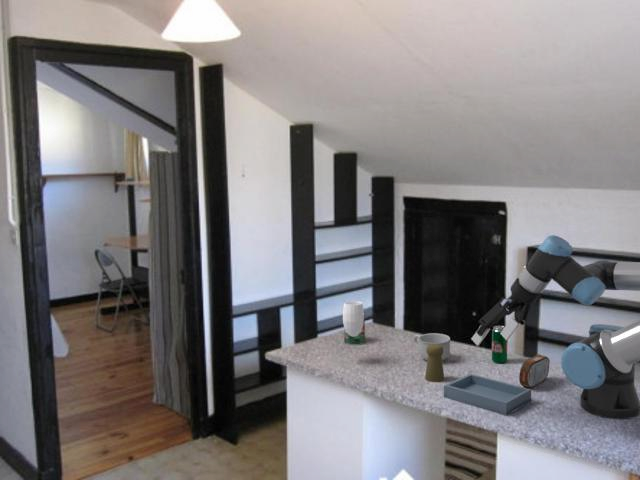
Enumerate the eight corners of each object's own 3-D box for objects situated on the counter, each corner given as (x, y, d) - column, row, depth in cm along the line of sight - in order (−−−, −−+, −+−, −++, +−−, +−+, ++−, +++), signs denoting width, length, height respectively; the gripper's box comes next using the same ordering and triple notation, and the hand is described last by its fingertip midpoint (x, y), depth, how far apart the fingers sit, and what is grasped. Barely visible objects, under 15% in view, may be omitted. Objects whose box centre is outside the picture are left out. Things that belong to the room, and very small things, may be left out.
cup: (361, 366, 217) (360, 306, 214) (340, 364, 219) (339, 304, 216) (366, 359, 223) (366, 301, 221) (346, 358, 226) (345, 300, 223)
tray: (531, 401, 184) (531, 389, 183) (505, 415, 174) (506, 403, 173) (470, 384, 198) (470, 373, 197) (443, 396, 188) (443, 385, 188)
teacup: (456, 360, 221) (456, 338, 220) (433, 366, 215) (433, 343, 214) (428, 351, 232) (428, 329, 231) (405, 356, 226) (405, 334, 225)
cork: (444, 382, 200) (444, 348, 198) (424, 381, 201) (424, 347, 200) (444, 376, 206) (444, 342, 204) (425, 375, 207) (425, 341, 206)
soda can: (488, 361, 220) (489, 327, 218) (498, 358, 223) (498, 324, 221) (500, 364, 216) (501, 330, 214) (510, 361, 219) (510, 327, 217)
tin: (541, 376, 204) (542, 351, 203) (551, 379, 202) (551, 353, 201) (517, 389, 193) (518, 362, 192) (527, 391, 191) (528, 364, 190)
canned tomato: (358, 346, 240) (358, 317, 238) (340, 343, 244) (339, 315, 242) (368, 341, 246) (368, 313, 245) (350, 338, 250) (350, 310, 249)
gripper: (545, 273, 187) (507, 325, 197) (492, 278, 171) (453, 334, 182) (564, 291, 182) (523, 343, 193) (511, 297, 167) (470, 354, 177)
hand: (489, 339), depth 187 cm, fingers open, 13 cm apart
